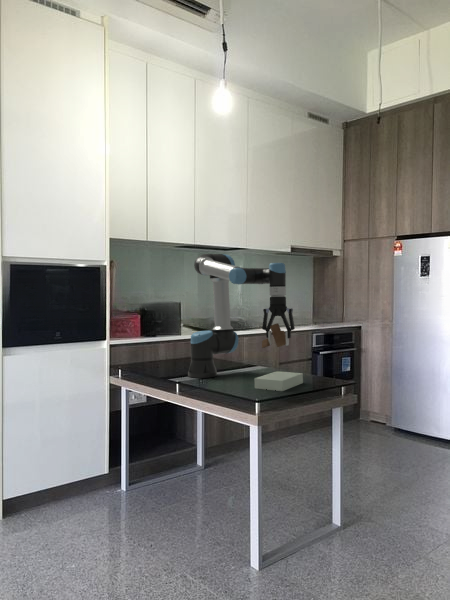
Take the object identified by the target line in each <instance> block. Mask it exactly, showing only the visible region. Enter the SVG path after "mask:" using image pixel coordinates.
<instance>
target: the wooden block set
mask: <svg viewBox="0 0 450 600" xmlns="http://www.w3.org/2000/svg"><path fill="white" fill-rule="evenodd" d="M270 331H271V334H272V336H273V339H274V343H275V344H276V347H277V348H280V347H283V346H286V332H285V330H282V329H281V328H280V324H279V323H274V324H272V325H271V326H270ZM269 346H271V345H270V343H269V341H268V338H267V337H266V338H265V339H263V340H262V341H261V348H262V349H263V348H267V347H269Z"/></svg>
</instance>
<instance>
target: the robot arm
mask: <svg viewBox="0 0 450 600" xmlns="http://www.w3.org/2000/svg"><path fill="white" fill-rule="evenodd" d="M193 267H194V270H195V272H196V273H198V275H202V276H206V277H207V276H209V280H210V281H211V282H212V292H213V294H212V297H213V313H214V314H213V317H214V326H213V328H212V329H211V330H200V331H195V332H193V333H192V334H191V335H190V363H189V364H190V365H189V368H188V372H187V376H188V377H189V378H193V379H194V378H195V379H206V378H214V377H216V376H218V374H217V373H218V371H217V367H216V366H215V362H214V355H222V354H223V355H224V354H227V355H228V354H231V353H234V352H235V351H236V350H237V349H238V345H239V335H238V333H237V332H236V331H234V328H233V326H232V325H231V310H230V309H231V308H230V306H231V305H230V287H229V286H230V284H229V282H231V283H232V285H266V284H268V285H269V296H270V297H269V307H267V308H263V318H262V319H263V320H262V328H261V330H264V331H265V333H266V335H265V337H266V339H267V338H268V341H269V343H270V346H271V345H272V344H273V343H272V341H273V339H272V336H273V334H272V331H271V329H270V326H271V325H273V323H274V320H275V318H276V317H281V318H280V319H282V321H283V324H284V326H285V329H286V331H285V335H286V344H285V346H286V347H288V346H289V345H290V339H291V338H292V334H291V333H292V331H294V330H295V329H296V327H295V322H294V317H293V311H294V309H293V308H289V307H288V306H287V297H286V295H287V289H286V288H287V283H286V282H287V280H286V279H287V278H286V273H287V271H286V264H285V263H284V262H270V263H269V264H268V267H265V268H264V267H260V268H259V267H258V268H257V267H254V268H253V267H241V266H237V265H236V263H235V260H234V259H233V257H232V256H231V255H229V254H224V253H203V254H200V255H198V256H197V257H196V258H195V260H194V264H193ZM269 312H270V313H271V314H270V318H268V317H269ZM286 312H287V313H288V319H289V322H288V319H287V316H286V314H285V313H286ZM268 319H269V321H268Z"/></svg>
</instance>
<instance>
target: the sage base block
mask: <svg viewBox="0 0 450 600" xmlns="http://www.w3.org/2000/svg"><path fill="white" fill-rule="evenodd" d="M303 383H304V373H302V372H301V373H300V372H289V371H277V370H276V371H273V372H270V373H267V374H264V375H261V376H257V377H254V389H255V390H256V389H257V390H266V389H267V390H268V391H275V390H276V391H277V392H284V391H287V390H289V389H291V388H294V387H297V386H299V385H301V384H303Z"/></svg>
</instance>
